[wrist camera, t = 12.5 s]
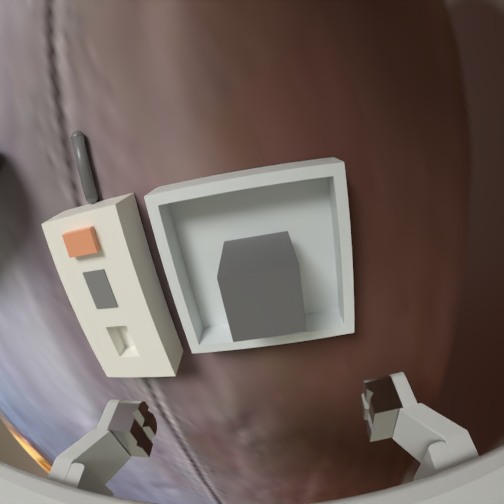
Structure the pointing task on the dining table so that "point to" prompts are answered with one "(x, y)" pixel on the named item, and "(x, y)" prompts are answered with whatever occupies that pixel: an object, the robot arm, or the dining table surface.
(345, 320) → the tray
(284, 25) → the dining table surface
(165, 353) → the power strip
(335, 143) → the dining table surface
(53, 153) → the dining table surface
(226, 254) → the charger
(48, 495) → the robot arm
